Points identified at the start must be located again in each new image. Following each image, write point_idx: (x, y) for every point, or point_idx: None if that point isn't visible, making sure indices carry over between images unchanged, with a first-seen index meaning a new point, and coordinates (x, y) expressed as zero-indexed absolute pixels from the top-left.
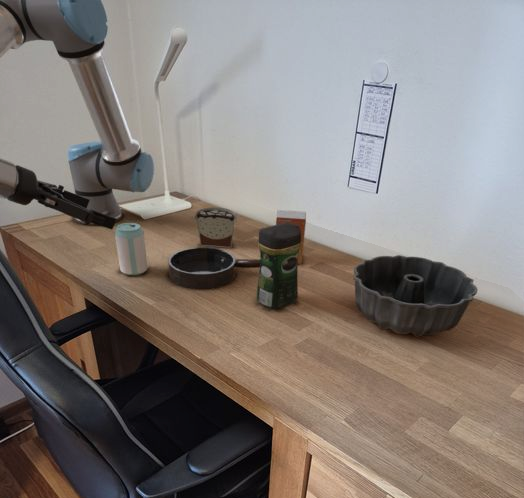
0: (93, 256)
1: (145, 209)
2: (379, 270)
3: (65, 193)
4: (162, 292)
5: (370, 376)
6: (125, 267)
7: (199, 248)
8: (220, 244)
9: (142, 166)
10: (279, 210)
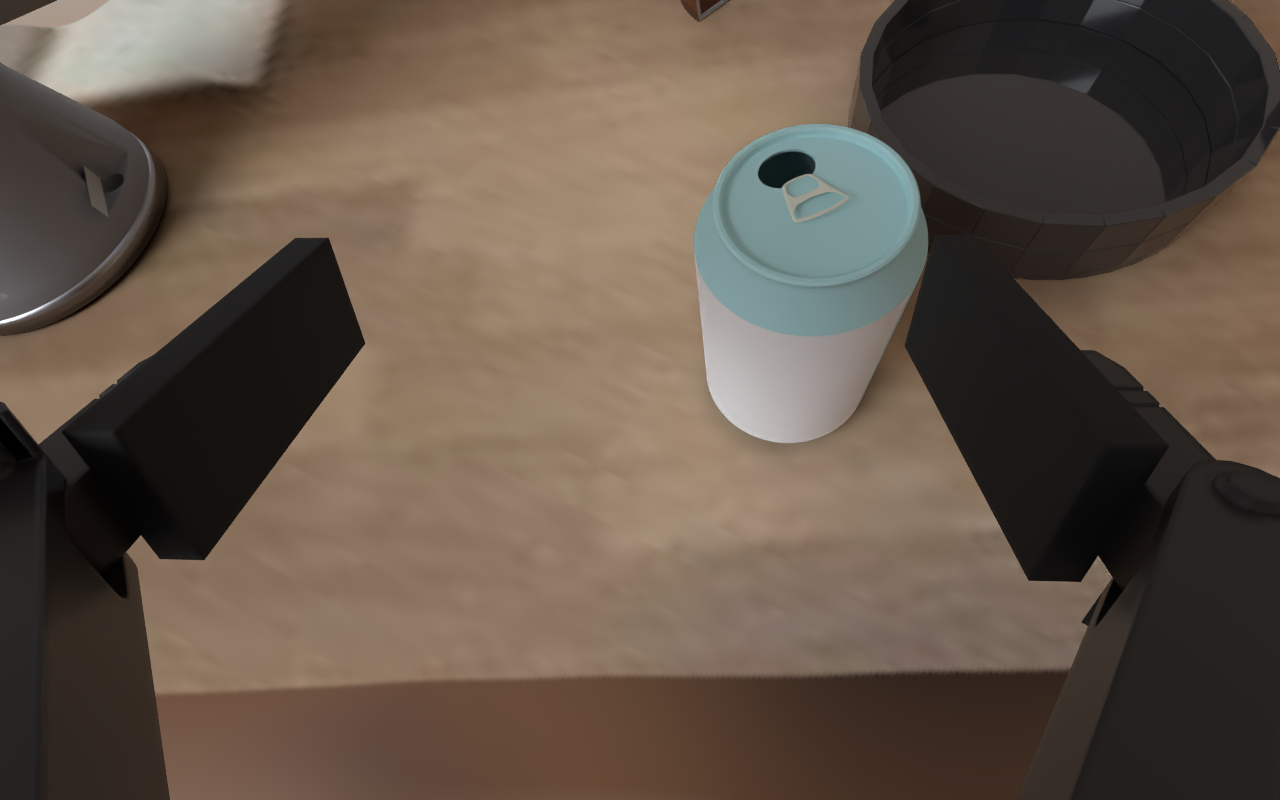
0: (456, 464)
1: (163, 39)
2: None
3: (144, 455)
4: (1146, 382)
5: None
6: (833, 419)
7: (887, 25)
8: None
9: None
10: None
